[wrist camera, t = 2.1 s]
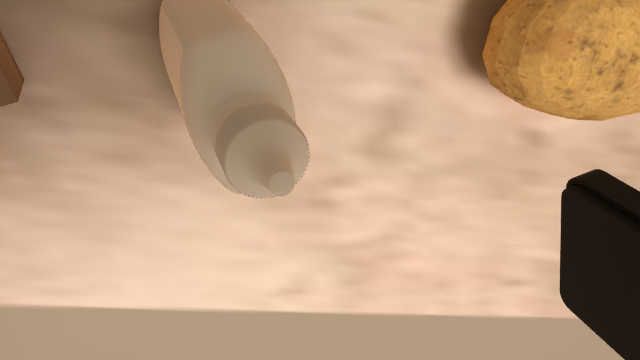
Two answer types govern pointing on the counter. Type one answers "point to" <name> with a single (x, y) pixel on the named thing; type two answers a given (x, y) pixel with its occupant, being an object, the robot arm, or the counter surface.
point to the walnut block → (9, 76)
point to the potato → (567, 56)
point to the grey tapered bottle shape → (232, 97)
